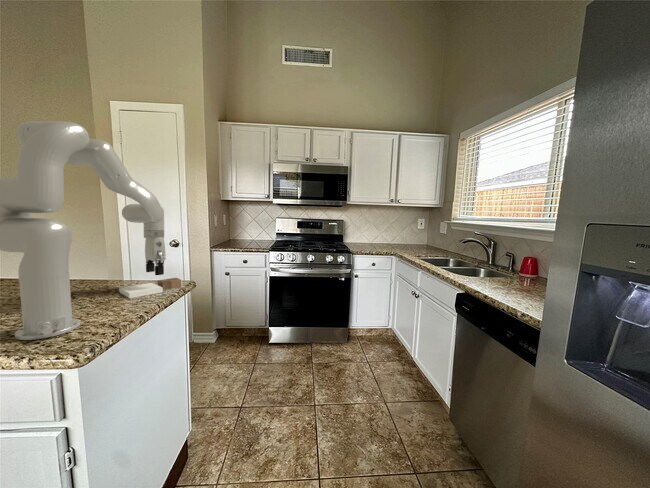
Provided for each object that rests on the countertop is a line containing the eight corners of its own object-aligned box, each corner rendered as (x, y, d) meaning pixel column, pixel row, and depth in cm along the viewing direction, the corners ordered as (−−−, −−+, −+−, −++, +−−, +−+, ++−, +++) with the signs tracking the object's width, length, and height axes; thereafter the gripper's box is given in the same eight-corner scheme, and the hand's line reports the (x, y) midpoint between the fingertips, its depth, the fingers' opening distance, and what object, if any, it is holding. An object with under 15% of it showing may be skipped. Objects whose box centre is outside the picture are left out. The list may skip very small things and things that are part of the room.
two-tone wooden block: (163, 290, 115) (182, 286, 122) (163, 282, 115) (181, 279, 121) (157, 287, 119) (176, 284, 125) (157, 280, 118) (176, 277, 125)
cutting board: (162, 291, 112) (162, 287, 112) (129, 298, 103) (129, 293, 103) (151, 287, 119) (151, 282, 119) (119, 292, 110) (119, 287, 110)
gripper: (172, 235, 111) (172, 274, 112) (155, 233, 121) (156, 269, 123) (152, 235, 105) (153, 277, 106) (136, 233, 115) (137, 271, 117)
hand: (154, 273), depth 114 cm, fingers open, 9 cm apart
